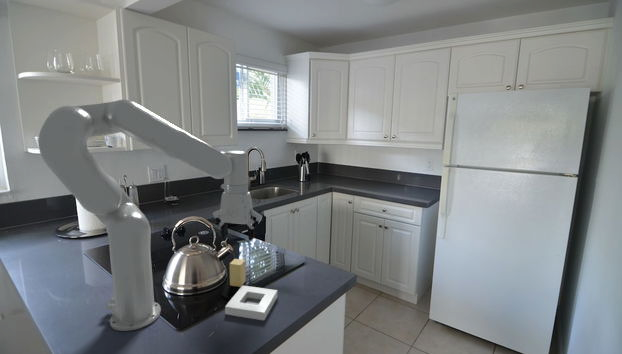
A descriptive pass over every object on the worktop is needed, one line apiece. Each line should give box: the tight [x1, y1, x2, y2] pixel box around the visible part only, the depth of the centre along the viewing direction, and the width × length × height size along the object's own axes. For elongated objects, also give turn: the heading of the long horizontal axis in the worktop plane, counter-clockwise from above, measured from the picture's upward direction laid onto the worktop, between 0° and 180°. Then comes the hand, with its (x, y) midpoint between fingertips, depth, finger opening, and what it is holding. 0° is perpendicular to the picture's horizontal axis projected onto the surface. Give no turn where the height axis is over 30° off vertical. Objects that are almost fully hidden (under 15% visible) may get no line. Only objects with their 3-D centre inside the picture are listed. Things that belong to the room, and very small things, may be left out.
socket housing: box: [224, 284, 278, 321], centre depth 94 cm, size 12×12×2 cm
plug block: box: [229, 258, 247, 288], centre depth 106 cm, size 4×4×8 cm
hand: (238, 237), depth 104 cm, fingers open, 9 cm apart
